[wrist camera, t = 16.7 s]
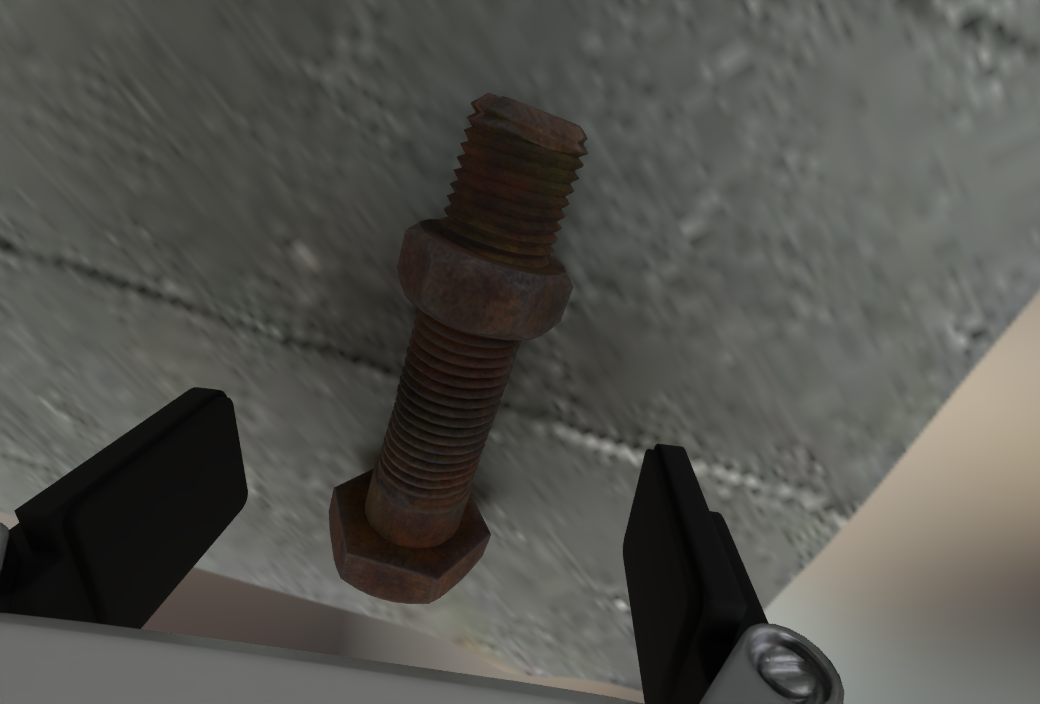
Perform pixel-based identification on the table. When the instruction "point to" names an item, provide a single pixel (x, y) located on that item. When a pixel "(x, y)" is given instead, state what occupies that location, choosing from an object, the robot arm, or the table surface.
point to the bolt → (460, 352)
